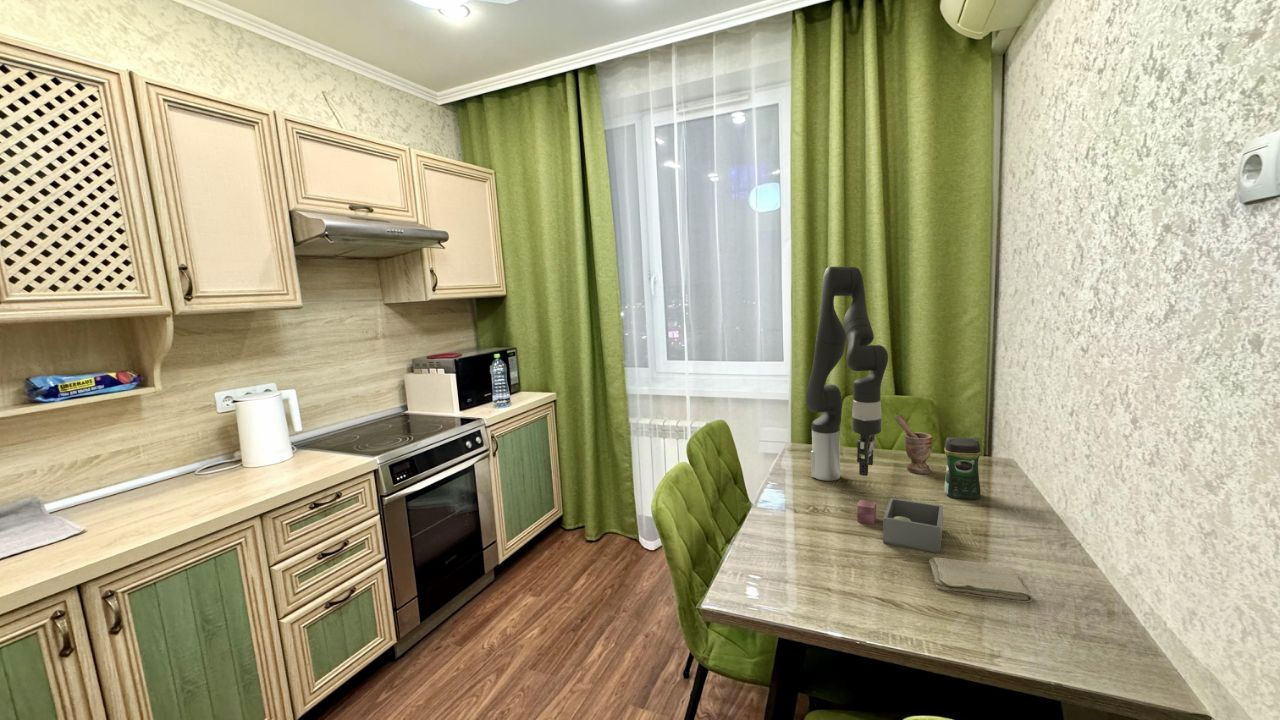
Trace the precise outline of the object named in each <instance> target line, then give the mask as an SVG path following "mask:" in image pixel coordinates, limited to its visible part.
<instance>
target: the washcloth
mask: <svg viewBox="0 0 1280 720" xmlns="http://www.w3.org/2000/svg"><path fill="white" fill-rule="evenodd" d="M928 563H929V564H930V567H931V568H930V569H931V573H932V576H933V580H934V584H935V586H936V589H938V590H942V591H945V592H949V593H955V594H960V595H965V596H966V595H967V596H974V597H982V598H988V599H997V600H1005V601H1010V602H1018V603H1030V602H1032V601H1033V598H1034V597H1033V596H1032V594H1031V592H1030V591H1029V590H1028V589H1027V587H1026V586H1025V585H1024V584H1023V583H1022V582H1023V580H1022V579H1021V577H1020V575H1019V573H1018V572H1017V570H1016V569H1015V568H1013V567H1011V566H1008V565H1000V564H992V563H988V562H987V563H986V562H985V563H984V562H978V561H969V560H962V559H961V560H960V559H953V558H945V557H936V556H935V557H934V556H933V557H931V559H929V560H928Z"/></svg>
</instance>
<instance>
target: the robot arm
mask: <svg viewBox="0 0 1280 720" xmlns="http://www.w3.org/2000/svg"><path fill="white" fill-rule="evenodd" d="M821 287H822V288H821V301H820V313H819V320H818V326H817V332H816V336H815V337H816V338H815V345H814V353H813V354H814V355H813V363H812V367H811V372H810V376H809V380H808V383H807V389H806V393H805V403H806V407H807V409H808V411H810V412H812V413H817V414H818V413H822V414H821V415H820V416H819V417H818V418H817V417H816V418H815V419H814V420H813V421H812V422H811V438H812V439H811V446H812V450H810V473H811V476H810V477H811V478H814V479H817V480H820V481H825V482H826V481H827V482H831V481H837V480H839V479H840V478H841V450H840V449H841V448H840V445H841V443H840V441H841V439H840V425H841V423H842V407H843V403H842V401H843V399H842V394H841V393H842V392H841V390H840V388H839V387H838V385H836V384H830V383H829V384H826V381H827V380H828V377H829V375H830V374H831V372H832V371H833V369H835V367H836V366H837V364H838V363H839V362H840V360H841V359H842V357H843V355H844V352H845V347H846V340H847V352H846V359H845V360H846V365H847V366H848V368H849V369H850V370H851V371H854V372H869V371H870V373H869V374H868V375H867V376H865V377H860V378H858V379H855V380H854V381H853V384H852V387H853V389H852V393H853V394H852V407H851V408H852V410H851V415H852V416H851V418H852V419H851V421H852V423H851V426H852V427H851V428H852V431H853V432H854V433H856V434H858V435H859V438H858V439H857V444H856V445H857V446H856V447H857V448H856V449H857V453H856V457H857V458H856V462H857V463H858V464H859V469H858V472H859V473H858V474H859V476H865V477H867V476H868V475H869V466H873V465H874V452H875V448H876V435H878V434H880V433H881V432H882V404H881V403H882V402H881V390H882V389H881V388H882V387H881V386H882V384H883V383H882V382H883V378H884V374H885V371H886V368H887V366H888V362H889V352H888V350H887V349H886V348H885V346H883V345H879V344H872V345H871V343H872V342H873V341H874V339H875V335H874V331H873V328H872V325H871V322H870V318H869V316H868V310H867V303H866V294H865V284H864V278H863V275H862V272H861V270H860V269H859V268H858V267H856V266H829V267H826V268H825V271H824V273H823V277H822V286H821ZM835 297H851V299H852V300H851V304H850V306H849V307H848V308H847V310H846V312H845V314H844V317H843V324H842V321H841V320H840V318H839V317H838V314H837V312H836V309H835V301H834V300H835ZM863 456H864V458H863Z"/></svg>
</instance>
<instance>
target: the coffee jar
mask: <svg viewBox="0 0 1280 720" xmlns="http://www.w3.org/2000/svg"><path fill="white" fill-rule="evenodd" d="M980 445H981V443H980V441H979V440H978V439H977V438H976V437H960V436H959V437H956V436H953V437H952V436H948V437H946V439H945V444H944V454H945V456H946V469H945V470H946V471H945V478H944V488H943V490H944V493H945V494H946V495H947V496H948V497H950V498H954V499H963V500H978V499H980V497H981V496H982V495H981V494H982V493H981V492H982V491H981V484H980V483H981V482H980V476H979V475H980V474H979V459H980V457H981V455H982V451H981V446H980Z"/></svg>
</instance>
